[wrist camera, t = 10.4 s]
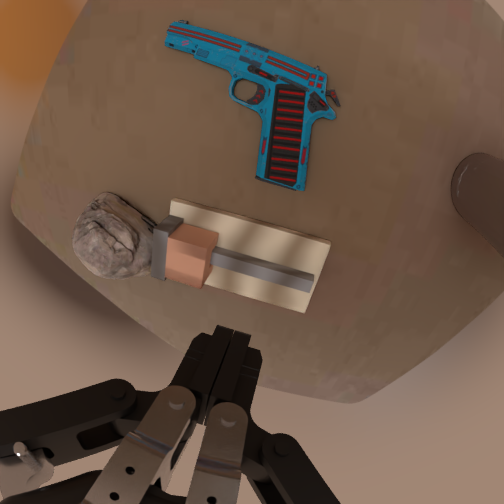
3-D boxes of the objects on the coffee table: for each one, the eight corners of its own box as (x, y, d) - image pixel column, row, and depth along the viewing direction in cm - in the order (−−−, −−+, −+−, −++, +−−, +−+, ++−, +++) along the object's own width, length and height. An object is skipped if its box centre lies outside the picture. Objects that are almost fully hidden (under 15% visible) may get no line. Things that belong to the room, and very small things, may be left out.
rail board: (330, 241, 39) (332, 263, 33) (305, 308, 44) (302, 335, 39) (174, 197, 40) (154, 212, 35) (167, 266, 46) (149, 288, 40)
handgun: (300, 195, 37) (356, 87, 30) (298, 202, 35) (359, 85, 28) (142, 123, 37) (182, 21, 30) (131, 126, 35) (172, 16, 27)
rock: (185, 234, 43) (152, 270, 34) (153, 289, 48) (122, 327, 40) (105, 176, 41) (60, 198, 32) (84, 236, 47) (45, 264, 38)
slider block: (218, 233, 40) (207, 249, 36) (212, 270, 43) (200, 289, 38) (182, 223, 40) (167, 237, 36) (178, 260, 43) (164, 277, 39)
